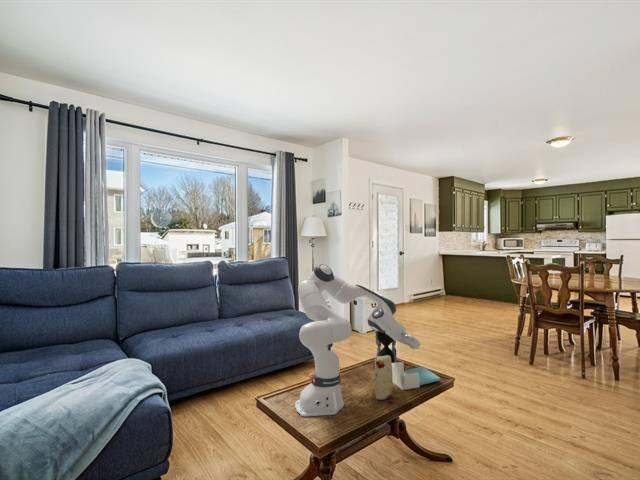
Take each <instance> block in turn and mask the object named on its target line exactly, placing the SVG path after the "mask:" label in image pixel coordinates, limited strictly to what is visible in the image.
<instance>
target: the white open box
mask: <svg viewBox="0 0 640 480" xmlns="http://www.w3.org/2000/svg"><path fill="white" fill-rule="evenodd" d="M404 364H405V363H404V362H403V361H399V362H398V361H397V363H392V376H393V379H392V383H393V384H395V385H396V386H397V387H398V388H399V389H401V390H402V391H404V390H410V389H411V390H412V389H417V388H420V385H419V373H418V372H417V373H411V374H406V373H405V372H404V371H405V369H404V368H405V367H404Z"/></svg>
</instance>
